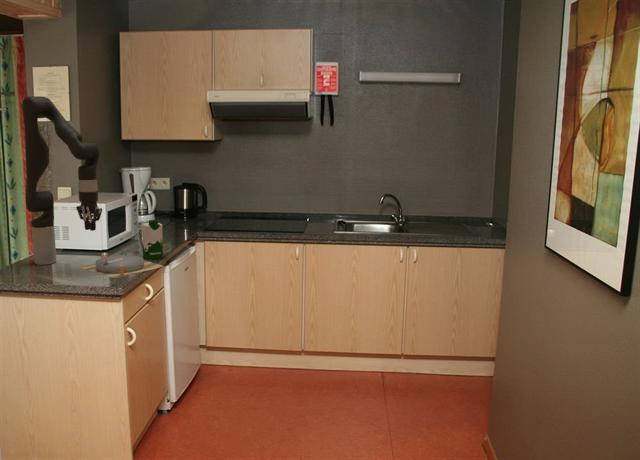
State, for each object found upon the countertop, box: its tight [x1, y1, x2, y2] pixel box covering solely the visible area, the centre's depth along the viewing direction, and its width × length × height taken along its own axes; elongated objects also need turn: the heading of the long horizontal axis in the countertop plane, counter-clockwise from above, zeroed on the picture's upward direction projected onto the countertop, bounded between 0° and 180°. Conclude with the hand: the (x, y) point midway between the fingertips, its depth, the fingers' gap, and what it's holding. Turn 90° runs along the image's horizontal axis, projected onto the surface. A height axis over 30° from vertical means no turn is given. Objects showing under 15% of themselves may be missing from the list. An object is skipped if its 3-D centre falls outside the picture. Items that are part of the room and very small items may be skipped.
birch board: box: [79, 260, 166, 279], centre depth 243 cm, size 26×26×6 cm
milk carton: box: [140, 219, 164, 261], centre depth 259 cm, size 9×9×20 cm
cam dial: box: [95, 252, 145, 273], centre depth 241 cm, size 20×20×8 cm
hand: (90, 229), depth 234 cm, fingers open, 2 cm apart
